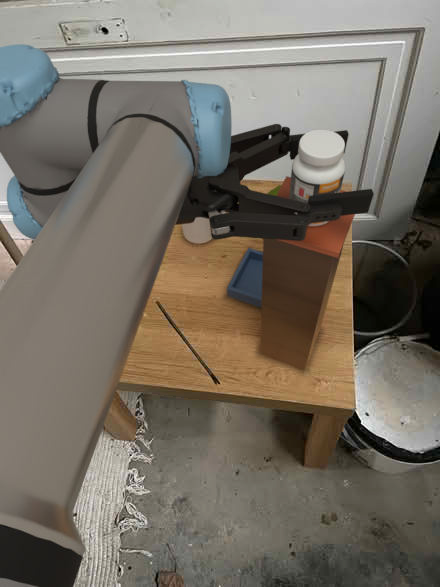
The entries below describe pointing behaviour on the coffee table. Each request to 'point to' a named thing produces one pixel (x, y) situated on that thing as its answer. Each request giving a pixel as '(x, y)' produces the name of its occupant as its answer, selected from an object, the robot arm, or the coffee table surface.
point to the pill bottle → (317, 166)
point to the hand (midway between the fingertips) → (356, 169)
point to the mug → (197, 231)
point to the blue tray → (248, 279)
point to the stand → (298, 287)
